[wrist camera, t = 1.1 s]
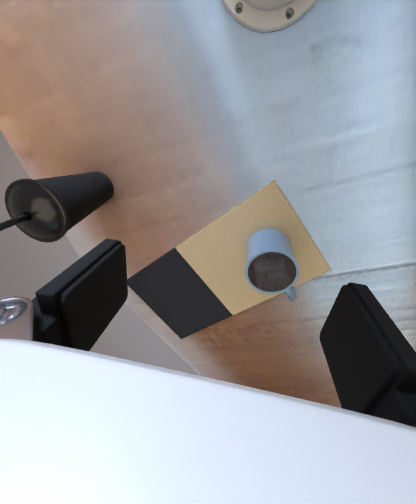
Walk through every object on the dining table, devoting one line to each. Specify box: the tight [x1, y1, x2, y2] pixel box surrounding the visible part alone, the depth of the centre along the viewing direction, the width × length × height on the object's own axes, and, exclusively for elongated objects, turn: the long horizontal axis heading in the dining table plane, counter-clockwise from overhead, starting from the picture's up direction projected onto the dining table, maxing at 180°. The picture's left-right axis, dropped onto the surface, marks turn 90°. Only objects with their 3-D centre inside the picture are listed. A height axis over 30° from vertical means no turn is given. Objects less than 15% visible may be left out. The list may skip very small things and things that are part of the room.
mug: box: [245, 228, 299, 301], centre depth 37 cm, size 10×7×8 cm
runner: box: [127, 181, 331, 339], centre depth 44 cm, size 34×18×1 cm, turn 128°
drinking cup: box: [0, 172, 113, 242], centre depth 31 cm, size 8×8×20 cm
